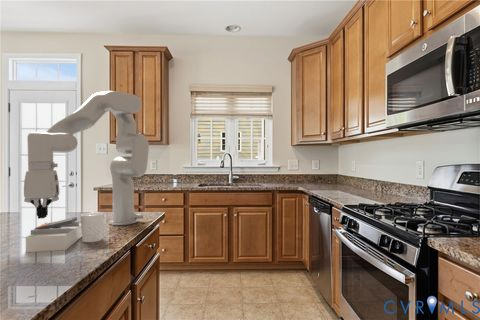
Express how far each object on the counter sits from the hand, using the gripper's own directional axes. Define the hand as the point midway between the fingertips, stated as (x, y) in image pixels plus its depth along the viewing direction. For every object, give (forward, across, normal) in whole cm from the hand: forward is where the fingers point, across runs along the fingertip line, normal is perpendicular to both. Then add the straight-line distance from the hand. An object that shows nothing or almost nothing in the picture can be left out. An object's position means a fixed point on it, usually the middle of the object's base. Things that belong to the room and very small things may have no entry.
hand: (42, 217), depth 106 cm
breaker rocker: (+3, -5, 0) cm, 5 cm away
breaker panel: (+10, -5, 0) cm, 11 cm away
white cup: (+10, -16, -2) cm, 19 cm away
